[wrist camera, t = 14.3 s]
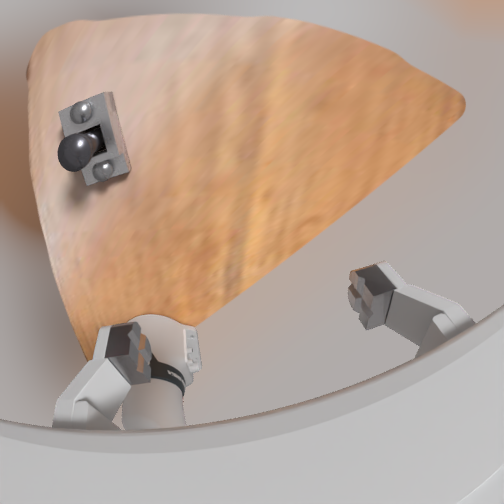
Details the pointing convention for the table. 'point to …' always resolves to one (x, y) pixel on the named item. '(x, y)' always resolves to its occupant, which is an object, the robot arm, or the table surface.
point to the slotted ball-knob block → (105, 114)
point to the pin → (79, 149)
